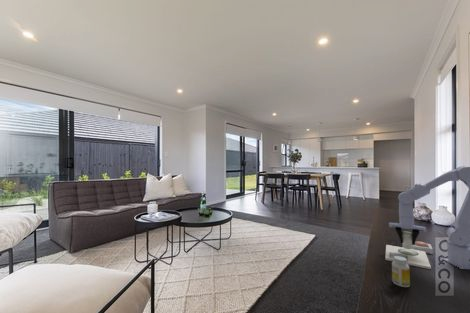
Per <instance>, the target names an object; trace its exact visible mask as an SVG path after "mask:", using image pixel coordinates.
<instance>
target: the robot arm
mask: <svg viewBox="0 0 470 313" xmlns="http://www.w3.org/2000/svg"><path fill="white" fill-rule="evenodd" d="M458 181H461V182H463V183H464V185H465V186H466V187H467V189H468V191H467V193H466V195H465V198H464V199H463V202H462V205H461V207H460V209H459V211H458V214H457V217H456V219H455V221H453V222H452V224H451V226H449V227H447V228H446V231H445V233H446V235H447V236H448V239H447V240H446V244H447V258H445V257H444V258H443V257H442V260H443V261H445V262H447V263H449V264H451V265H453V266H455V267H456V266H457V267H456V268H458V267H459V268H458V269H461V270H470V166H464V165H463V166H458V167H456V168H454V169H450V170H448V171H446V172H445V173H443V174H440V175H439V176H437V177H435V178H434V179H432V180H430V181H429V182H426V183H418V184H417V183H415V184H413V187H411V188H408V189H405V190H404V192H403V191H402V192H401V193H399V194H398V197H397V199H398V205H399V206H398V219H399V223H397V222H388V227H389V228H395V232H396V233H397V235H398V237H399V240H400V244H402V243H403V242H402V231H403V230H410V231H412V232H411V233H412V235H413V237H412V241H413V245H415V242H416V241H417V238H418V236H419V234H420V232H423V233H426V232H427V227H425V226H421V225H415V219H414V218H415V216H414V207H413V203H414V201H417V200H420V199H421V198H424V197H425V196H428V195H429V194H430V193H431V190H433V189H435V188H438V187H439V186H441V185H443V184H446V183H448V182H458ZM402 229H403V230H402Z"/></svg>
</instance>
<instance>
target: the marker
mask: <svg viewBox="0 0 470 313" xmlns="http://www.w3.org/2000/svg"><path fill="white" fill-rule="evenodd" d="M412 238H413V235H412V232H410V231H405V230H402V242H403V243H401V244H402V247H403V248H406V249H413V241H412Z"/></svg>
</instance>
